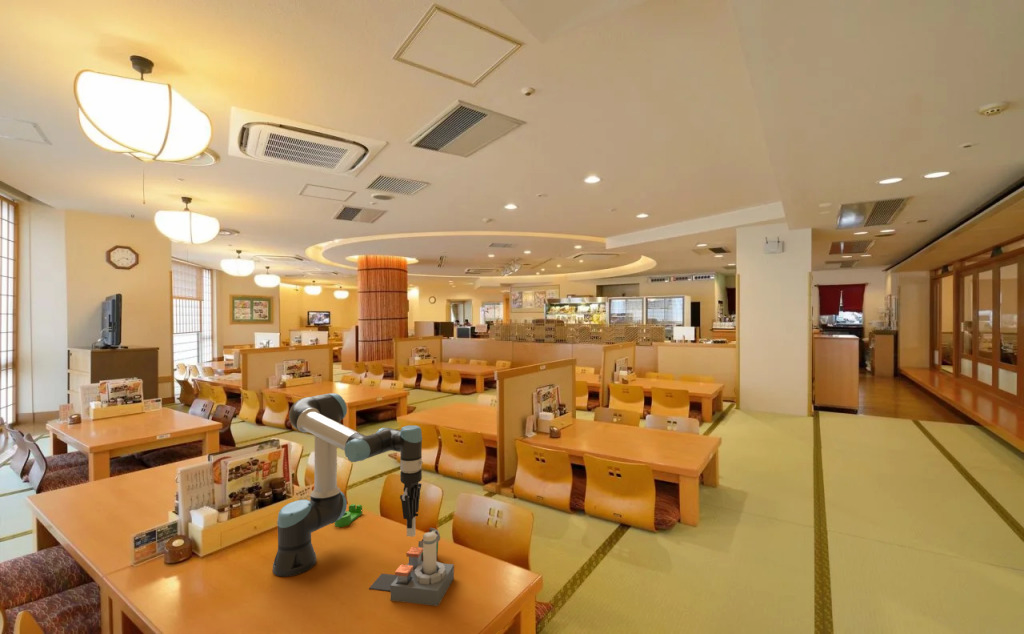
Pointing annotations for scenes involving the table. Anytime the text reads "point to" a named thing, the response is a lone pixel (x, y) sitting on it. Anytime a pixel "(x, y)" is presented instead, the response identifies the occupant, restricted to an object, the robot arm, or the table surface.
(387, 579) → the mat
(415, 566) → the plunger
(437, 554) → the food container
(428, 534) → the cartridge
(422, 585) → the housing
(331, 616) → the table surface
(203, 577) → the table surface
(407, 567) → the plunger
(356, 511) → the tape dispenser
